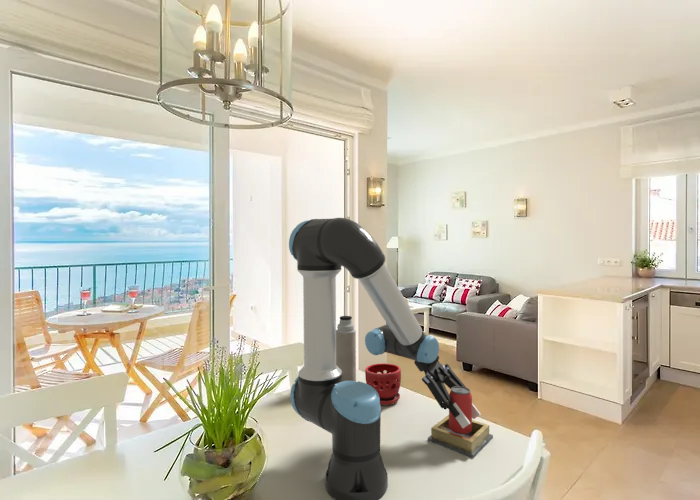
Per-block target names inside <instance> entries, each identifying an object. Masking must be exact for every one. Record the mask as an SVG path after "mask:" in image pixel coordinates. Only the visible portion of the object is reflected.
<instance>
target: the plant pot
mask: <svg viewBox="0 0 700 500" xmlns="http://www.w3.org/2000/svg"><path fill="white" fill-rule="evenodd" d="M385 372H386V373H385ZM364 374H365V376H364V377H365V383H366V384H368V385H370V386H372V387H373V388H374V389H375V390H376V391H377V393H378V395H379V398H380V406H386V405H387V406H388V405H392V404H395V403H397V402H398V401H399V400H400V398H401V394H400V393H399V392H400V388H401V383H402V382H401V381H402V369H401V367H400V366H399V365H397V364H394V363H386V362H385V363H383V362H382V363H374V364H373V363H372V364H371V365H368V366H367V367H365V369H364Z"/></svg>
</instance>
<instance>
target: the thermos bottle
mask: <svg viewBox="0 0 700 500" xmlns="http://www.w3.org/2000/svg"><path fill="white" fill-rule="evenodd" d="M356 338H357V337H356V329H355V325H354V324H353V322H352V316H351V315H341V316H339V323H338V324H337V326H336V365H337V366H338V367H339V368H340V369H341V371H342V382H343V381H355V382H357V367H356V364H357V361H356V359H357V355H356V353H357V350H356V348H357V347H356V346H357V345H356V340H357V339H356Z"/></svg>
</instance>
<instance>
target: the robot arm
mask: <svg viewBox="0 0 700 500" xmlns="http://www.w3.org/2000/svg"><path fill="white" fill-rule="evenodd" d="M288 248H289V249H288V250H289V253H290V255H291V256H292V257H293V259H294V260H296V262H297V263H296V264H297V265H296V267H297V270H296V271H297V272H298V273H299V274H300V275H301V276H302V281H303V282H302V283H303V284H302V286H303V288H302V289H303V292H302V293H303V298H302V299H303V302H302V303H303V367H302V368H300V369H299V370H298V374H297V375H298V376H297V377H296V378H295V380H294V383H293V384H292V386H291V389H290V393H289V395H290V398H289V399H290V403H291V407H292V409H293V410H294V411H295V413H296V414H297V415H299V417H301V418H302V419H303V420H305V421H307V422H310V423H312V424H314V425H315V426H317V427H319V428H321V429H322V430H324V431H326V432H328V433H329V434H331V435H332V437H331V443H332V444H331V445H332V446H331V447H332V448H331V449H332V450H331V451H332V452H331V456H330V458H329V462H328V465H327V469H326V472H325V477H324V478H325V481H324V484H325V490H326V491H327V493H328V495H330V496H331V498H333V499H335V500H379V499H380V498H382V497H383V496H384V494H385V493H386V492H387V490H388V488H389V487H388V486H389V485H388V484H389V483H388V480H389V479H388V478H389V476H388V472H387V469H386V467H385V464H384V461H383V457H382V454H381V424H382V422H381V419H382V418H381V415H382V414H381V413H382V407H381V405H380V398H379V395H378V393H377V391H376V390H375V389H374V388H373V387H372V386H370V385H368V384H366V382H363V381H356V382H355V381H343V382H342V371H341V369H340V368H339V367H338V366H337V365H336V330H337V310H336V309H337V303H336V302H337V300H336V299H337V294H336V292H337V291H336V290H337V288H336V287H337V284H336V283H337V281H336V277H337V275H339V273H340V272H341V271H342V267H343V268H344V269H346V270H347V271H348V272H349V274H350V275H351V277H352V278H353V279H356V280H359V282H360V283H361V285H362V286H363V288H364V290H365V292H367V294H368V296H369V298H370V299H371V301H372V302H373V304H374V306H375V308H377V310H378V312H379V313H380V315H381V316H382V318H383V320H384V321H385V324H384V325H381V326H378V327H375V328H373V329H372V330H370V331H368V332H367V333H366V334H365V337H364V344H365V347H366V349H367V351H368V352H369V353H370V354H371V355H374V356H379V355H383V354H384V353H388V354H391V355H394V356H399V357H402V358H406V359H409V360H411V361H414V362H413V363H414V365H415V367H417V369H418V371H419V372H423V373H424V376H423V377H422V378H421V380H422V382H423V383H424V384H425V385H426V386H427V388H428V389H429V391H430V393H431V394H432V396H433V398H434V399H435V400H436V402H437V404H438V405H439V406H440V408H441V409H444V410H448V412H449V411H450V412H451V413H452V415H453V416H454V417H455V418H456V420H457V421H458V422H459V424H460V425H461V426H462V428H465V427H466V426H467V425H469V424H470V422H469V420H468V419H467V417H466V416H465V415H464V413H463V412H462V411H461V409H460V408H459V407H458V405H457V404H456V403H454V404H453V401H452V399H451V397H450V395H449V394H450V392H449V391H448V389H447V387H448V388H449V389H450V390H451V388H452V387H455V386H462V387H466V388H467V386H466V385H465V384H464V383H463V381H462V380H461V379H460V378H459V377H458V376H457V374H456V373H455V372H454V370H452V368H451V367H450V364H449V363H445V364H444V365H443V364H442V363H441V362H440V361H439V360H440V356H439V352H440V343H439V341H438V339H437V338H436V337H434V336H432V335H430V334H426V333H425V332H424V330H423V328H422V326H421V325H420V323H419V321H418V320H417V318H416V316H415V314H414V313H413V311H412V309H411V308H410V306H409V304H408V302H407V300H406V299H405V297H404V295H403V294H402V291H401V290H400V289H399V287H398V285H397V282H396V281H395V279H394V278H393V276H392V274H391V273H390V271H389V268H388V267H387V265H386V255H385V254H384V252H383V251H382V249H381V247H380V245H379V244H378V242H377V241H376V240H375V239H374V238H373V236H372V235H371V234H370V232H368V231H367V230H366V229H365V227H363V226H362V225H360V224H358V223H357V222H355V221H354V220H352V219H349V218H346V217H345V218H344V217H334V218H313V219H312V218H311V219H309V220H304V221H302V222H299V223H298V224H297V225H296V226H295V227H294V228H293V229H292V231H291V233H290V235H289V239H288ZM445 385H446V386H445ZM481 414H482V413H481V412H480V410H478V408H477V407H476V406H475V404H474V403H473V402H472V420H475V419H476V418H477V417H479V416H481Z"/></svg>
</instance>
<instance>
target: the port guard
mask: <svg viewBox="0 0 700 500" xmlns="http://www.w3.org/2000/svg"><path fill="white" fill-rule="evenodd" d="M430 430H431V435H429V436H428V437H427V441H428V442H430V443H433V444H435V445H439V446H441V447H444V448H446V449H448V450H452V451H453V452H456V453H459V454H462V455H464V456H468V457H469V458H472V459H474V458H475V457H476V456H477V455H478V454H479V453H480V452H481V451H482V450H483V448H485V446H486V445H488V443H489V442H491V441H492V439H494V435H493V434H490V425H489V424H486V423H484V422H480V421H476V420H475V419H472V431H471V432H470V433H468V434H458V433H455V432H453V431H452V430H450V428H449V414H447V415H446V416H445V417H444V418H442V419H441V420H440V421H439V422H437V423H436V424H434V425H433V426H432V427H431V428H430Z"/></svg>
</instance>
